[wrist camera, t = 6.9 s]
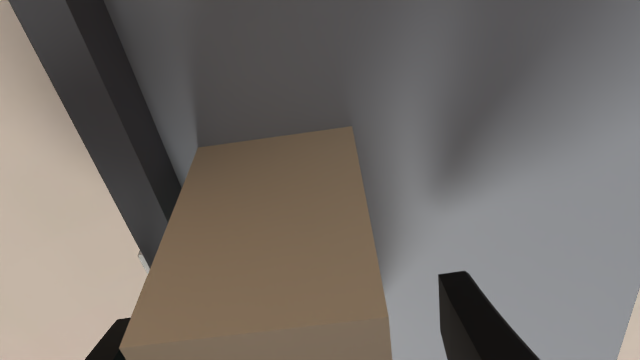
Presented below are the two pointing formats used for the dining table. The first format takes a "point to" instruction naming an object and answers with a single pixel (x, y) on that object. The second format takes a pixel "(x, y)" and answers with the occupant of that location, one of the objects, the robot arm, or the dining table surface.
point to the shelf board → (392, 136)
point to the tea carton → (266, 259)
